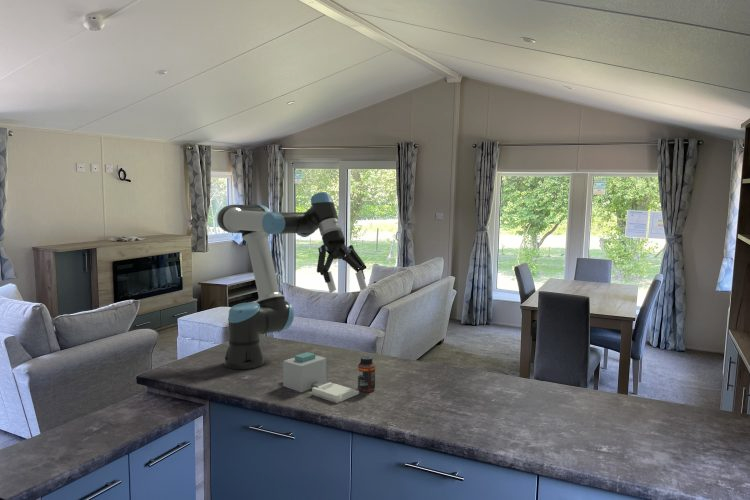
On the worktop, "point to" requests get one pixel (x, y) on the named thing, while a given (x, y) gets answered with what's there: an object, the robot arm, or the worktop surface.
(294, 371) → the white two-part device
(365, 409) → the worktop surface
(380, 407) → the worktop surface
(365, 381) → the supplement bottle
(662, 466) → the worktop surface
